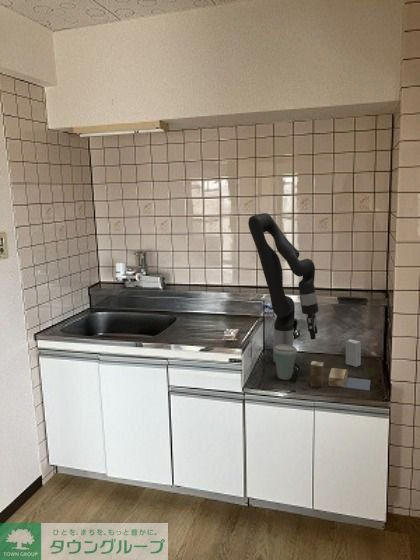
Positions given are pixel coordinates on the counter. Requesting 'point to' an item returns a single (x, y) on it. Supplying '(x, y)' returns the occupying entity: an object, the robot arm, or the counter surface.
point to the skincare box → (353, 352)
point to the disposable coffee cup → (285, 360)
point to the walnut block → (317, 374)
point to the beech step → (338, 377)
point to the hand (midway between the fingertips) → (314, 336)
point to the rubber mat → (358, 384)
